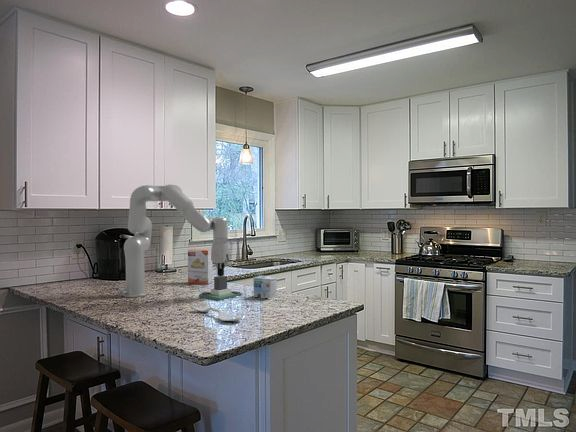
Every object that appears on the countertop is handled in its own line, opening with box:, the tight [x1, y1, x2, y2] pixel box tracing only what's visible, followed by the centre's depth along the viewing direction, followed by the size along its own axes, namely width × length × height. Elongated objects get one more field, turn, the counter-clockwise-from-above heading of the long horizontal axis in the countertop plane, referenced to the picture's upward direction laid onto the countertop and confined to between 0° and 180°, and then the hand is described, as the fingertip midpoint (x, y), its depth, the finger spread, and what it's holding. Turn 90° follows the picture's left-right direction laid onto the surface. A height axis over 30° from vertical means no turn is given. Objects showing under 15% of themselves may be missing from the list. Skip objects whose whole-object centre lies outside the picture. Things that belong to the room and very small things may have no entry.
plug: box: [213, 275, 228, 290], centre depth 231 cm, size 6×4×9 cm, turn 141°
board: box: [198, 287, 243, 301], centre depth 231 cm, size 16×16×4 cm
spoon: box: [189, 301, 243, 322], centre depth 191 cm, size 9×32×4 cm, turn 42°
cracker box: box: [187, 248, 213, 285], centre depth 268 cm, size 14×6×21 cm, turn 73°
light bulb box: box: [253, 275, 278, 299], centre depth 228 cm, size 11×7×11 cm, turn 62°
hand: (220, 275), depth 231 cm, fingers closed
